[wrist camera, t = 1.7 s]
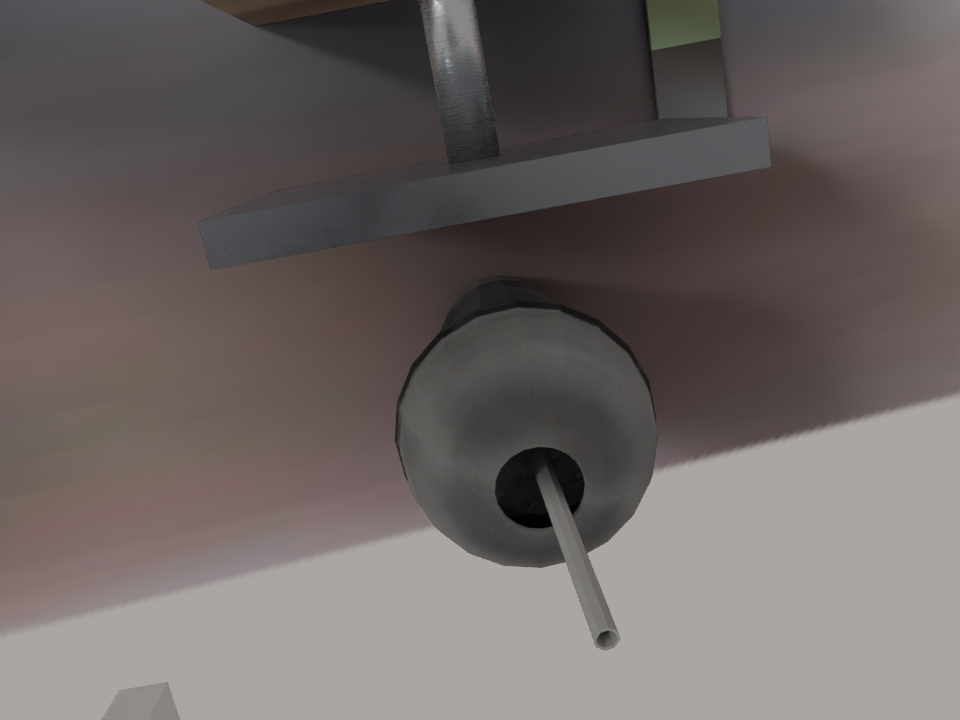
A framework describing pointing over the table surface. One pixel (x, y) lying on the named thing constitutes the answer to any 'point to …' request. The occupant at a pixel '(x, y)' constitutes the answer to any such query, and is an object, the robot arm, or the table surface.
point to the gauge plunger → (480, 166)
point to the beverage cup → (528, 434)
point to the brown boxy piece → (671, 35)
